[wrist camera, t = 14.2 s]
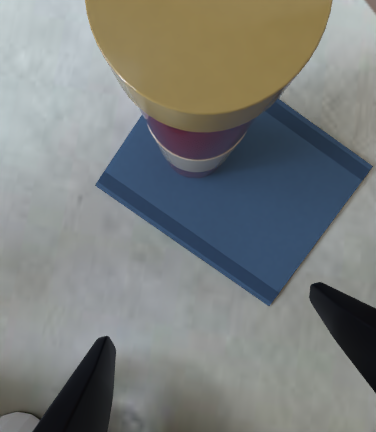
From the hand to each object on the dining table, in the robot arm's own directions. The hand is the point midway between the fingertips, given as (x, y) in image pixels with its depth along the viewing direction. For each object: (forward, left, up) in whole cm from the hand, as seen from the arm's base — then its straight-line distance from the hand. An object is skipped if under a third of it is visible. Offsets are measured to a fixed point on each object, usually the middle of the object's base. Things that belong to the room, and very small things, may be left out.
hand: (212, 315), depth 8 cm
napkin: (+2, -8, -10) cm, 13 cm away
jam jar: (+6, -8, -10) cm, 14 cm away
